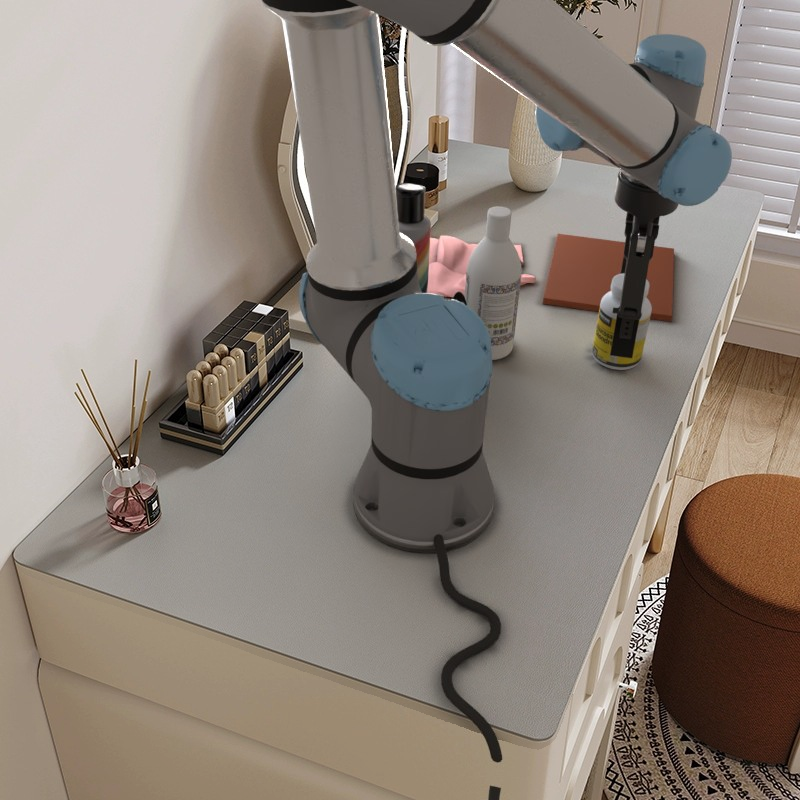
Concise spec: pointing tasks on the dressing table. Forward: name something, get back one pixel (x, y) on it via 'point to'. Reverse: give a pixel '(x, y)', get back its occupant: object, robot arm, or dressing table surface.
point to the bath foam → (495, 281)
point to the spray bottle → (415, 225)
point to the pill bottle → (608, 325)
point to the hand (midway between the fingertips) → (624, 326)
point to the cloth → (454, 266)
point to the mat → (603, 274)
